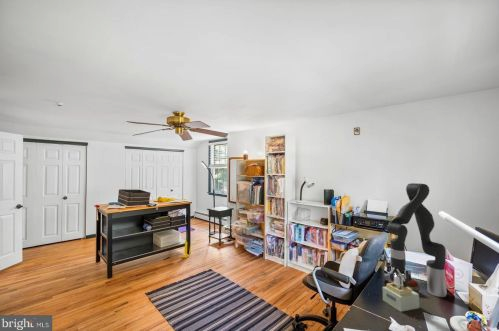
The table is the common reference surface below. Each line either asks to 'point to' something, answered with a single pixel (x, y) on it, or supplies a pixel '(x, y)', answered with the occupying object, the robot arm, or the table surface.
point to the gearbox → (400, 297)
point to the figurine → (411, 284)
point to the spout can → (398, 281)
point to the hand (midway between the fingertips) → (398, 283)
